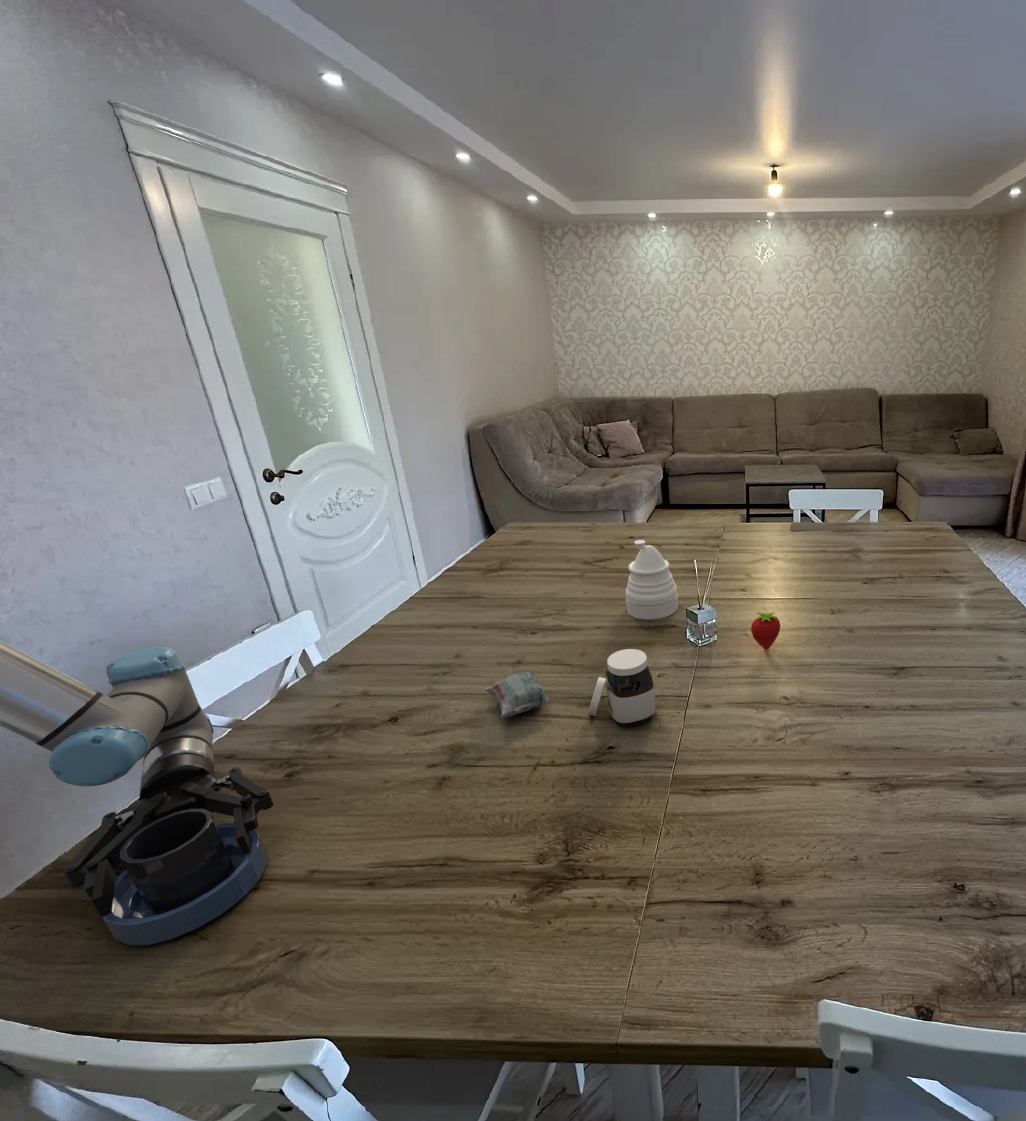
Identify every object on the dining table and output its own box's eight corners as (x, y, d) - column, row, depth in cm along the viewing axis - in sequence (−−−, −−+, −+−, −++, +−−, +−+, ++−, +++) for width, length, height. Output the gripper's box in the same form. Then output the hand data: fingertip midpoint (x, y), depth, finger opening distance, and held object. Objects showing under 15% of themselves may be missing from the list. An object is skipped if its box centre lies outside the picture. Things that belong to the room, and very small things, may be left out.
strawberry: (745, 653, 126) (744, 611, 122) (762, 638, 132) (762, 598, 128) (768, 660, 123) (768, 618, 119) (785, 645, 129) (786, 604, 125)
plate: (76, 949, 66) (61, 924, 65) (190, 845, 80) (179, 823, 78) (202, 948, 66) (190, 924, 65) (294, 844, 80) (286, 822, 78)
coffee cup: (131, 918, 69) (99, 862, 66) (191, 861, 76) (165, 808, 73) (198, 918, 69) (169, 862, 66) (251, 861, 76) (228, 808, 73)
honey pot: (633, 623, 139) (627, 553, 133) (621, 602, 150) (615, 536, 144) (684, 613, 144) (681, 545, 137) (669, 593, 155) (665, 529, 148)
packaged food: (502, 729, 102) (498, 705, 101) (487, 697, 111) (482, 675, 110) (552, 712, 107) (549, 689, 105) (533, 682, 116) (530, 661, 114)
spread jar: (662, 722, 104) (657, 666, 99) (599, 742, 99) (591, 684, 95) (640, 689, 114) (635, 636, 109) (582, 705, 109) (574, 651, 104)
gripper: (289, 759, 92) (309, 842, 77) (67, 842, 77) (37, 965, 62) (274, 719, 89) (292, 798, 74) (42, 797, 74) (4, 915, 59)
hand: (176, 874), depth 68 cm, fingers open, 11 cm apart
